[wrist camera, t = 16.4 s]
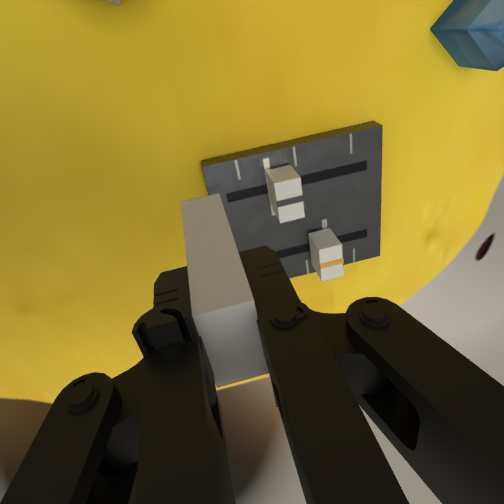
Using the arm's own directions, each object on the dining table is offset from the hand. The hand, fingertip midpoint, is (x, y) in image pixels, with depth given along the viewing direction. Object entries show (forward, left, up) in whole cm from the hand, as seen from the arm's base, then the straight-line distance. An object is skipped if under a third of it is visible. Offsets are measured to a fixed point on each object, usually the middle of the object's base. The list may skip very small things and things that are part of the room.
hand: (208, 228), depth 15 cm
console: (+11, -16, -31) cm, 37 cm away
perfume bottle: (+33, +2, -31) cm, 45 cm away
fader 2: (+13, -21, -29) cm, 38 cm away
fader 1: (+8, -11, -29) cm, 32 cm away
